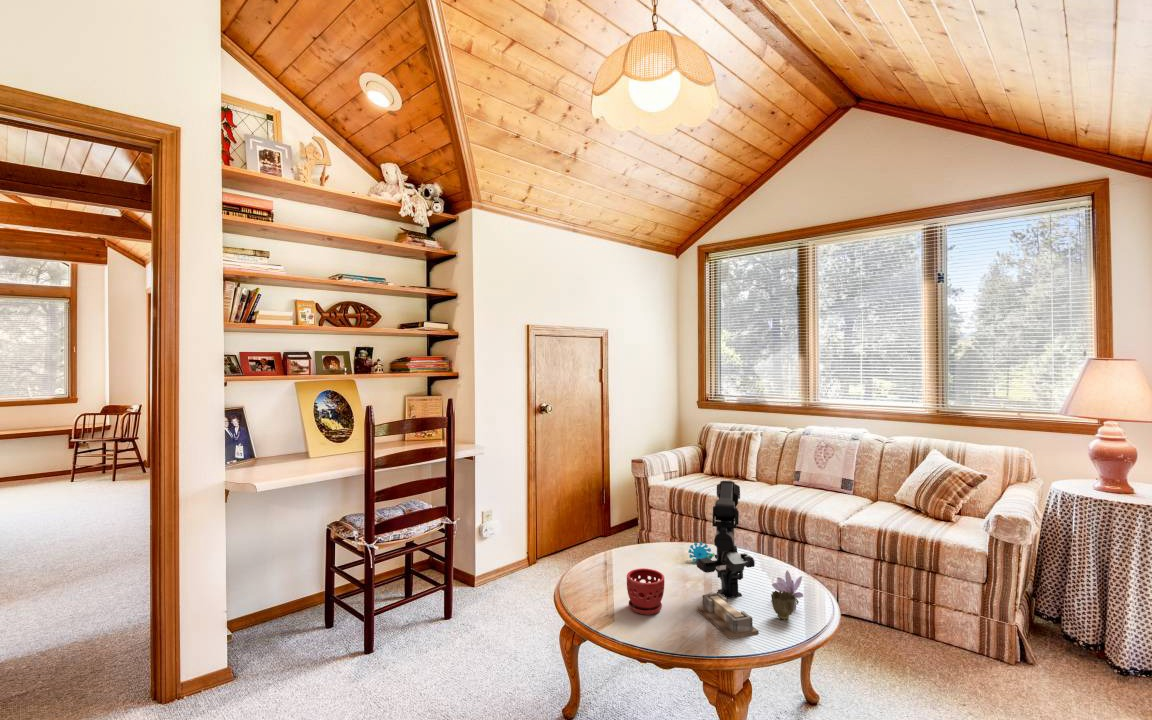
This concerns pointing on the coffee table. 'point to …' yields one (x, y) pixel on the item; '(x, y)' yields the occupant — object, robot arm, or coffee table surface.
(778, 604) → the cup
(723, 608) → the birch slat
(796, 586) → the water lily
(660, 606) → the plant pot
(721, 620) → the end cap base
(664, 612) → the coffee table surface
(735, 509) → the robot arm
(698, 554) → the gear
